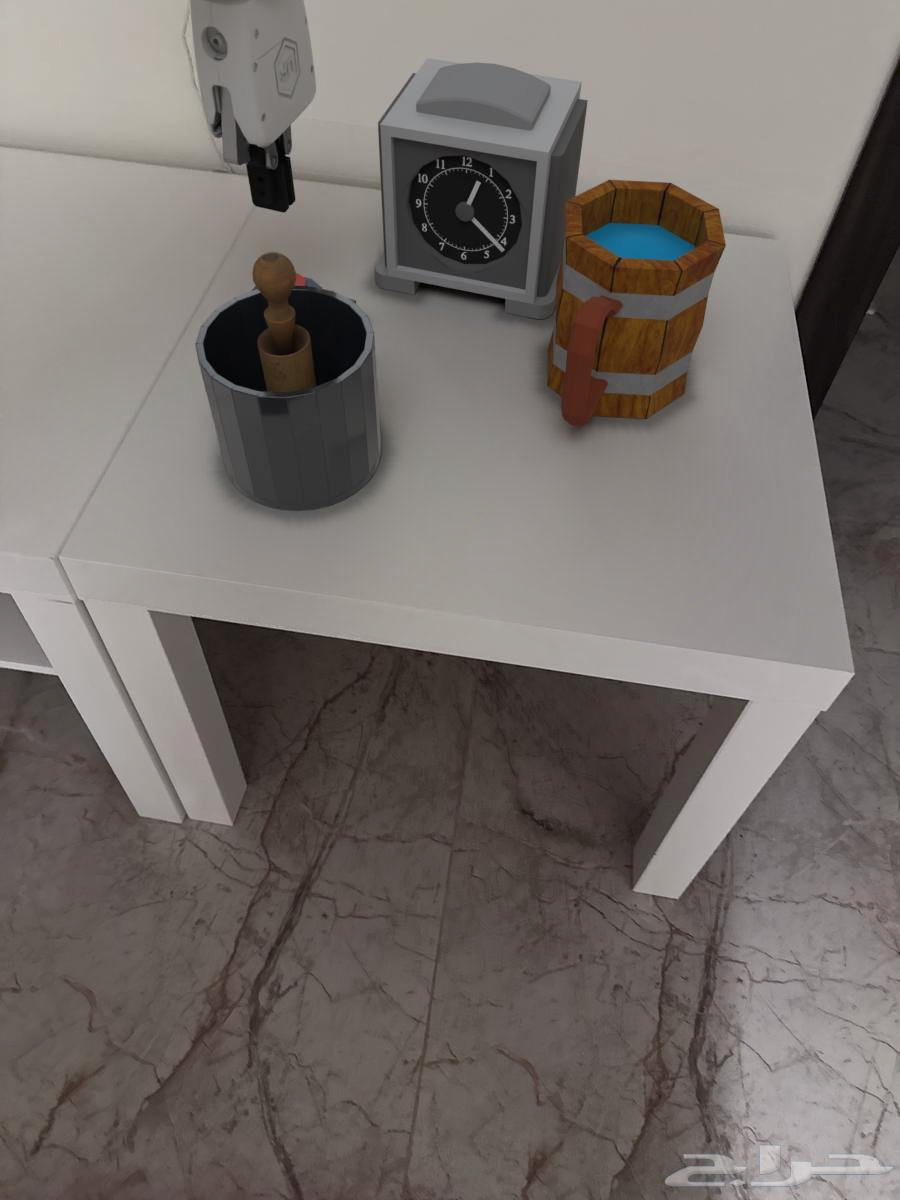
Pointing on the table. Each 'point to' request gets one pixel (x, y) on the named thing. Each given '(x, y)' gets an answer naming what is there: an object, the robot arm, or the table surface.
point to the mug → (630, 297)
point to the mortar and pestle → (282, 328)
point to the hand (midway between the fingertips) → (274, 203)
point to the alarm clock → (479, 182)
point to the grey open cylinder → (294, 402)
